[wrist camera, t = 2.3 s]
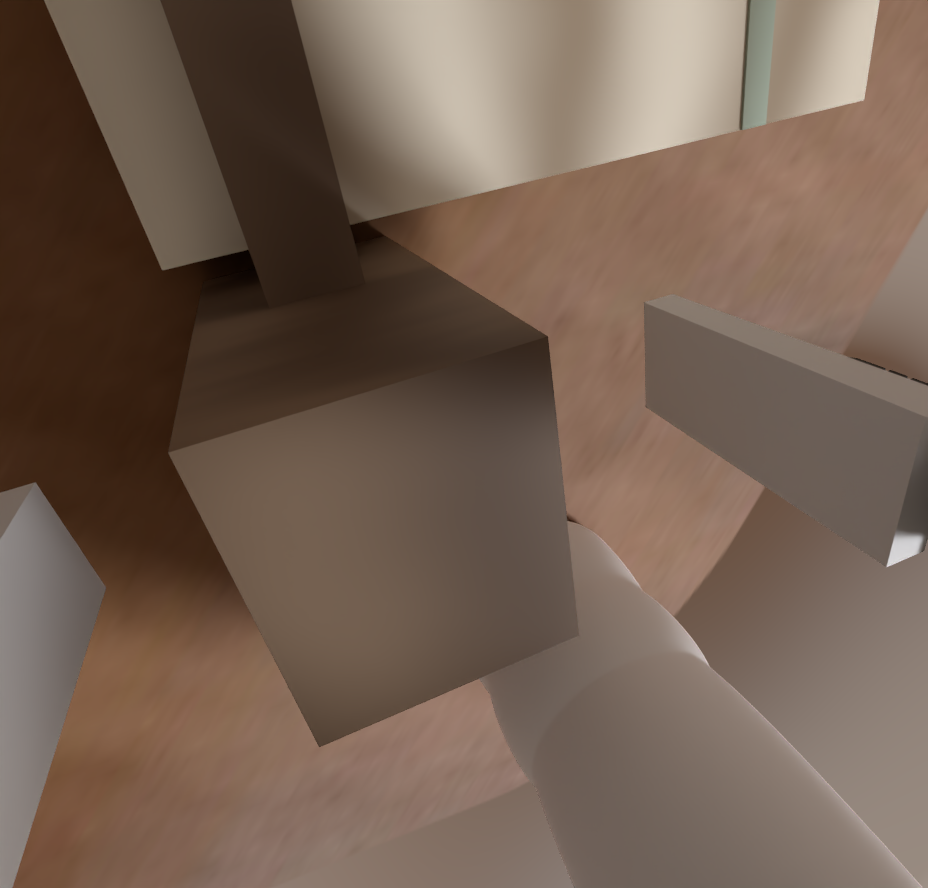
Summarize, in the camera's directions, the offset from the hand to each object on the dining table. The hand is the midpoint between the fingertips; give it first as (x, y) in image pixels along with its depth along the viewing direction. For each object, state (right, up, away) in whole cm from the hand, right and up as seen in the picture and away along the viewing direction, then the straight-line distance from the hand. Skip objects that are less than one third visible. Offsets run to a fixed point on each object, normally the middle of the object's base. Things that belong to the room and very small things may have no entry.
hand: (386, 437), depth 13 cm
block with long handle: (-3, +6, +3) cm, 7 cm away
